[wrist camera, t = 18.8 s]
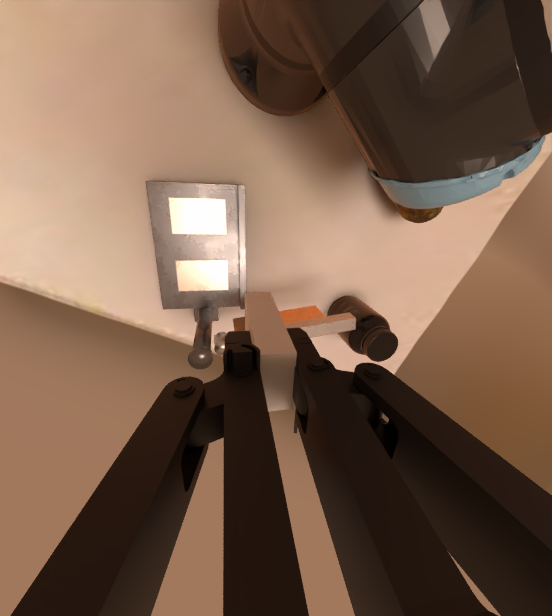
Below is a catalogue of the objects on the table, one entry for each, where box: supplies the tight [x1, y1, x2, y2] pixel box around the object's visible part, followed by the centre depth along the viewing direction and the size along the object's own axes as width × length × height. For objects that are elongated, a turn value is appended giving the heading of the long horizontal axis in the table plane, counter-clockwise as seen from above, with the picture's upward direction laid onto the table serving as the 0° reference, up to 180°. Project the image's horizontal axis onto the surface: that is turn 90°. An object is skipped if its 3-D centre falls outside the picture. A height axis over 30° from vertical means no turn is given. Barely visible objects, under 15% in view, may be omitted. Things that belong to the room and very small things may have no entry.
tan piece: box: [214, 306, 356, 355], centre depth 35 cm, size 18×2×7 cm, turn 95°
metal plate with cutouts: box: [146, 181, 246, 309], centre depth 38 cm, size 17×12×3 cm
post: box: [188, 307, 218, 369], centre depth 36 cm, size 4×4×15 cm
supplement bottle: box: [328, 296, 398, 362], centre depth 42 cm, size 7×7×12 cm
